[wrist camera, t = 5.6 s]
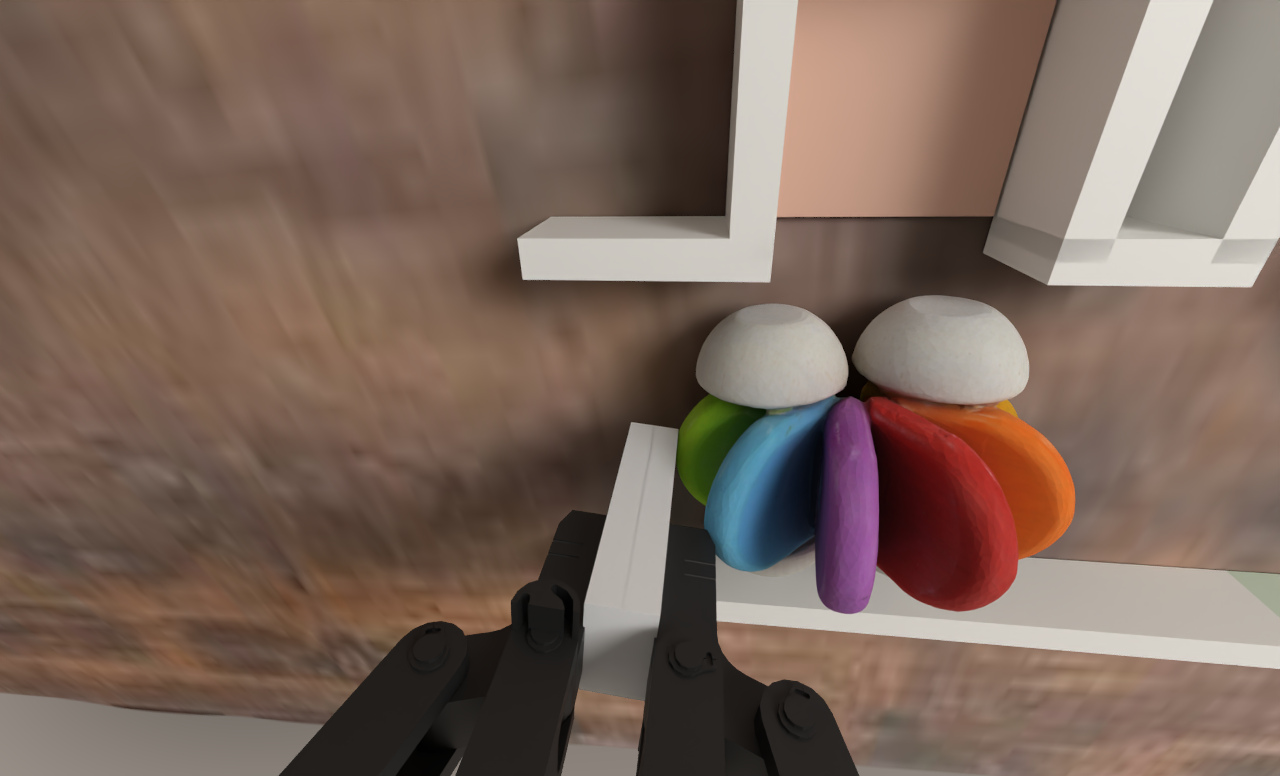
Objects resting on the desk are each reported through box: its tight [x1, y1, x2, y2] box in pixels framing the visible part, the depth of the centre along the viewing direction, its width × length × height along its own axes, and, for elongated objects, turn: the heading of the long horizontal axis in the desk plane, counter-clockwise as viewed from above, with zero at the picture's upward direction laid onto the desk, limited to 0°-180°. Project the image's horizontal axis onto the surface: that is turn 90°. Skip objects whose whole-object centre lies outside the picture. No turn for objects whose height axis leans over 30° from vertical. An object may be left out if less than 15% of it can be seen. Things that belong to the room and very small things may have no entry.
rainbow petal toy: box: [676, 295, 1075, 614], centre depth 13 cm, size 8×10×7 cm
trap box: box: [517, 0, 1280, 669], centre depth 13 cm, size 32×20×3 cm, turn 91°
